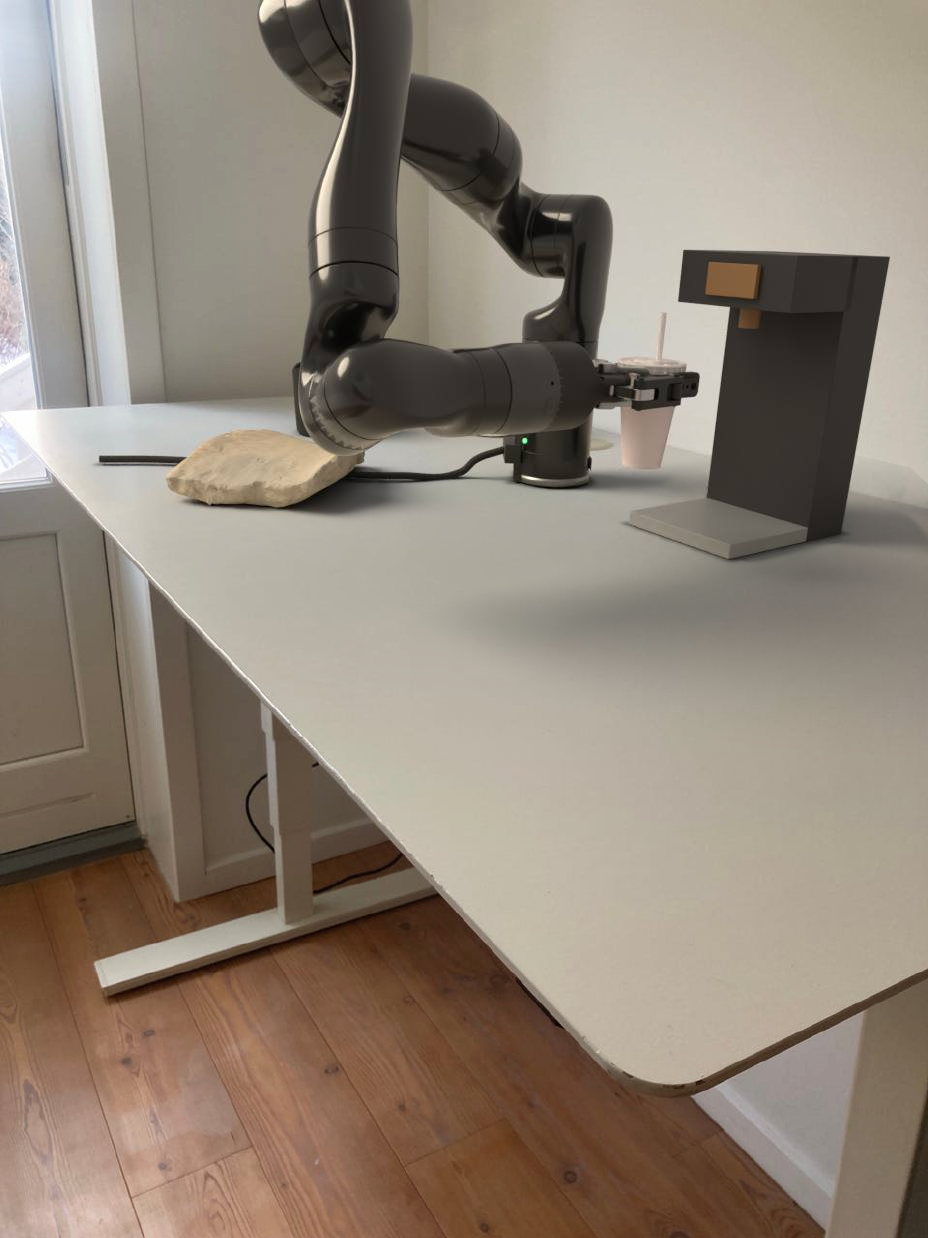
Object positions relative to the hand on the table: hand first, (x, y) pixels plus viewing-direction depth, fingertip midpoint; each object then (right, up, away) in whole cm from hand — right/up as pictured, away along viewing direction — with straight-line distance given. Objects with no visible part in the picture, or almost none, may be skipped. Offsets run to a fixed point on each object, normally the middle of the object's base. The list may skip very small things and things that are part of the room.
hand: (667, 378), depth 93 cm
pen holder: (-40, +5, +56) cm, 69 cm away
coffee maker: (+10, -13, +14) cm, 22 cm away
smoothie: (-2, -8, +2) cm, 9 cm away
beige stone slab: (-41, -7, +26) cm, 49 cm away
